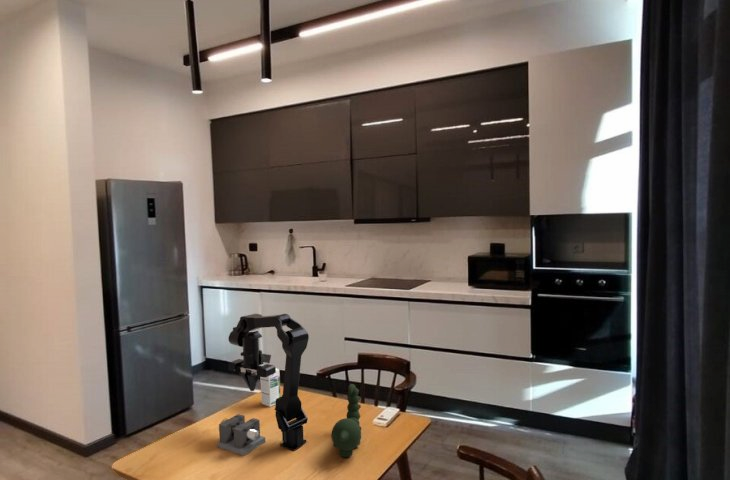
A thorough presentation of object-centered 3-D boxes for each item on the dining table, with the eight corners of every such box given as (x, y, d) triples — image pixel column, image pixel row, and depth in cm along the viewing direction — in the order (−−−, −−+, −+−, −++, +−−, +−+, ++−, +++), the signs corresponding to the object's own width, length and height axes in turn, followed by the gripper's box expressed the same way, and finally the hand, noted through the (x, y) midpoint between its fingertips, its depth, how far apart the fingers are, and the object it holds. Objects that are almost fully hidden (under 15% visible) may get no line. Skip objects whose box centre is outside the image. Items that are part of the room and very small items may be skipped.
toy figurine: (341, 433, 153) (326, 466, 128) (341, 379, 154) (326, 402, 129) (367, 434, 152) (357, 467, 127) (367, 380, 153) (356, 402, 128)
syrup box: (270, 407, 173) (269, 372, 172) (260, 404, 176) (259, 369, 176) (281, 402, 177) (279, 368, 177) (271, 399, 181) (270, 365, 181)
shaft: (261, 439, 143) (261, 425, 142) (250, 446, 138) (250, 431, 138) (230, 430, 150) (229, 416, 150) (219, 436, 146) (218, 422, 145)
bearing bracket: (265, 441, 145) (264, 420, 145) (243, 455, 137) (242, 432, 136) (240, 433, 151) (239, 413, 151) (217, 446, 143) (216, 424, 142)
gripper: (285, 346, 159) (286, 387, 159) (248, 340, 168) (249, 379, 169) (264, 354, 149) (265, 398, 150) (226, 348, 158) (228, 389, 159)
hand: (252, 390), depth 157 cm, fingers closed
